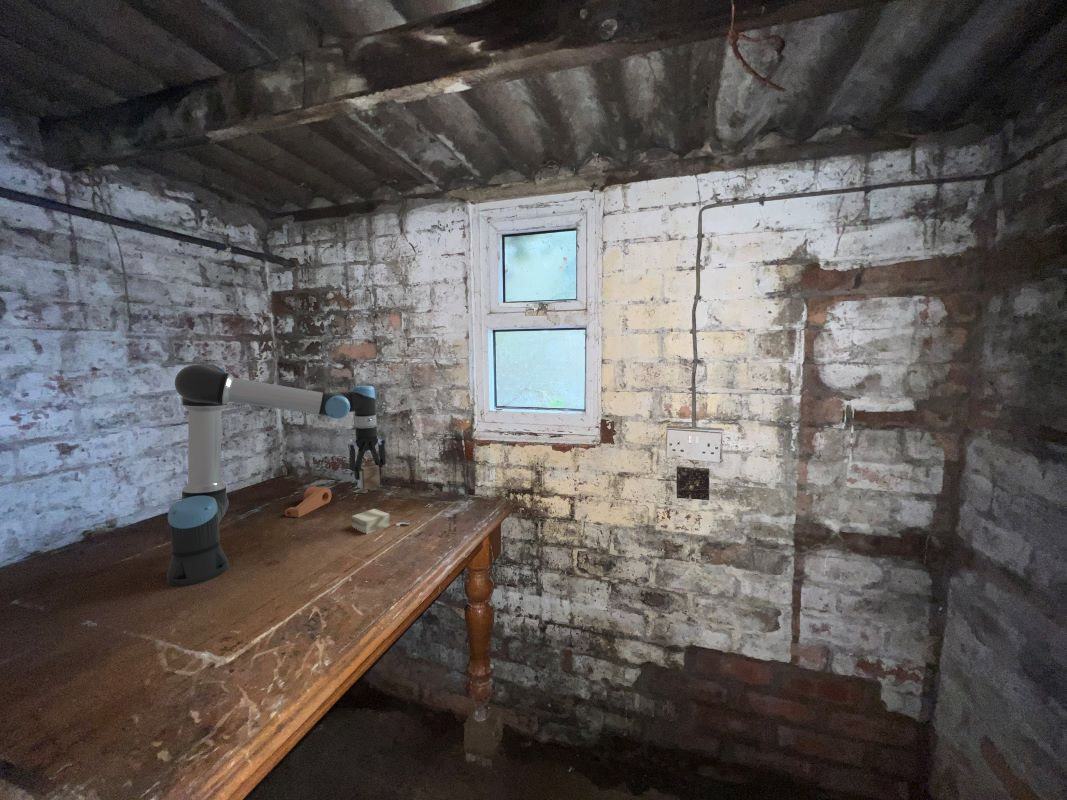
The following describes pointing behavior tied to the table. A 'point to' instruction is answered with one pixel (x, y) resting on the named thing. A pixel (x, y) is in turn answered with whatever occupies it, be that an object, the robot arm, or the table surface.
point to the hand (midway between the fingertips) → (368, 485)
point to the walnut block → (370, 476)
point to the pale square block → (370, 521)
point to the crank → (310, 501)
